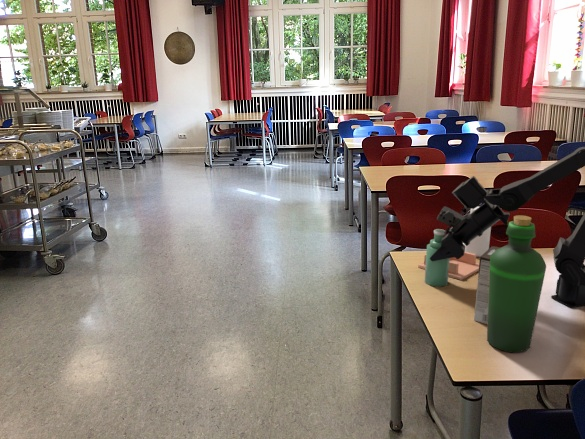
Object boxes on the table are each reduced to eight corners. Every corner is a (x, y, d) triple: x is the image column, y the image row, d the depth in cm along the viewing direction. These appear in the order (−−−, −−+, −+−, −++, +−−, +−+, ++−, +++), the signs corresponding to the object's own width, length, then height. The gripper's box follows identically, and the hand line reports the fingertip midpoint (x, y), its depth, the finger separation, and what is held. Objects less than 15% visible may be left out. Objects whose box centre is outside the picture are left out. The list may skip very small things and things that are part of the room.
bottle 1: (452, 284, 135) (456, 232, 131) (432, 287, 133) (436, 235, 129) (439, 276, 140) (443, 226, 136) (420, 279, 139) (423, 228, 135)
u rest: (484, 267, 147) (486, 255, 146) (461, 280, 138) (462, 267, 137) (442, 255, 157) (443, 244, 156) (418, 267, 148) (418, 255, 147)
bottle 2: (524, 332, 109) (540, 210, 102) (543, 358, 99) (562, 225, 91) (475, 330, 110) (487, 210, 103) (489, 356, 100) (503, 224, 93)
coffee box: (485, 306, 122) (492, 245, 117) (513, 314, 118) (520, 250, 113) (472, 320, 115) (478, 255, 110) (500, 328, 111) (508, 262, 107)
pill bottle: (492, 257, 155) (496, 211, 151) (466, 257, 155) (470, 211, 151) (483, 248, 163) (487, 205, 158) (458, 249, 163) (462, 205, 159)
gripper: (461, 191, 137) (419, 224, 144) (453, 206, 120) (405, 244, 128) (488, 221, 136) (444, 253, 143) (484, 240, 119) (435, 276, 127)
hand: (432, 255), depth 135 cm, fingers closed on bottle 1, 6 cm apart
